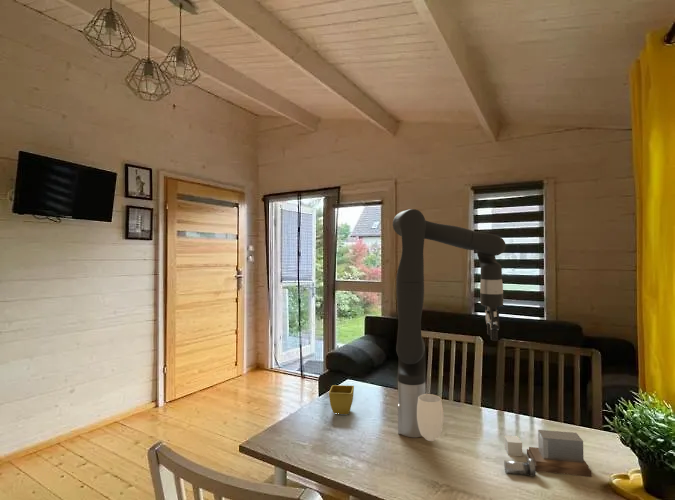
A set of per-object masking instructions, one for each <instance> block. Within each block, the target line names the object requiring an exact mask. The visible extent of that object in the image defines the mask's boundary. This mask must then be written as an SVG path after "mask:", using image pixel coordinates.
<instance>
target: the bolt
mask: <svg viewBox="0 0 675 500" xmlns="http://www.w3.org/2000/svg"><path fill="white" fill-rule="evenodd" d="M503 466H504V471H505V473H506V474H513V475H526V476H531V477H535V476H536V473H537V471H536V469H535V463H534V460H533V458H528V457H527V458H526V462H524V461H515V460H513V461H512V460H506V459H505V460H504V462H503Z"/></svg>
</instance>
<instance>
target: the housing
mask: <svg viewBox="0 0 675 500" xmlns="http://www.w3.org/2000/svg"><path fill="white" fill-rule="evenodd" d="M537 438H538V442H537V443H538V445H537V446H538V447H537V448H539V452H540V453H541V455H542V457H543V459H546V460H556V461H567V462H577V463H584V461H585V459H584V456H585V455H584V441H583V439H582V438H581V437H580V435H579V434H578V433H577V432H570V431H556V430H546V429H538V430H537Z"/></svg>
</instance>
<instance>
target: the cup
mask: <svg viewBox="0 0 675 500" xmlns="http://www.w3.org/2000/svg"><path fill="white" fill-rule="evenodd" d="M417 422H418V428H419V431H420V434H421V435H422V436H421V437H423V438H424V439H425V441H429V442H434V441H436V440H437V439H438V438H440V437H441V435H442V431H443V426H444V409H443V403H442V397H440V396H438V395H436V394H432V393H426V394H423V395H420V396H419V397H418V403H417Z"/></svg>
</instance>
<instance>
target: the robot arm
mask: <svg viewBox="0 0 675 500" xmlns="http://www.w3.org/2000/svg"><path fill="white" fill-rule="evenodd" d="M392 228H393V231H394V232H395V233H396V234H397V235H398V236H400V237H401V257H400V259H399V264H398V267H397V273H396V280H395V281H396V285H395V286H396V287H395V288H396V291H395V292H396V293H395V294H396V305H397V307H396V308H397V317H398V326H397V327H398V328H397V338H396V348H395V350H396V354H397V356H398V358H397V359H398V367H397V399H398V400H397V402H398V403H397V434H399V435H402V436H404V437H409V438H420V437H423V436H422V435H421V434H420V431H419V428H418V422H417V403H418V397H419V396H420V395H423V394H427V393H426V344H425V340H424V338H423V336H422V323H421V322H422V314H423V309H424V308H423V307H424V301H425V300H424V298H425V273H424V271H425V270H424V269H425V268H424V267H425V266H424V265H425V261H424V247H425V240H429V241H433V242H437V243H441V244H445V245H449V246H452V247H455V248H459V249H462V250H467V251H476V254H477V260H478V263H479V267H480V286H479V291H480V294H479V295H480V296H479V297H480V305H481V306H483V307H484V308H485V311H484V313H485V317H484V318H485V323H486V326H487V327H486V329H487V330H486V332H487V333H486V334H487V335H488V336H490V340H491V341H493V342H497V341H498V342H499V330H500V327H501V326H500V311H498V309H497V307H503V306H504V283H503V270H502V269H503V267H502V265H501V264H500V263H499V262H497V259H496V256H500V255H501V254H503V253H504V252H505V250H506V246H507V245H506V242H505V240H504V239H503V238H502V237H501V236H499V235H496V234H492V233H487V232H486V233H484V232H480V231H479V232H478V231H474V230H472V229H468V228H465V227H463V226H462V227H461V226H458V225H457V226H455V225H449V224H444V223H438V222H432V221H428V220H427V219H425V216H424V214H423V212H421V211H420V210H418V209H415V208H409V209H406V210H402V211H400V212H399V213H397V214H396V215H395V216H394V218H393V220H392Z"/></svg>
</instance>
